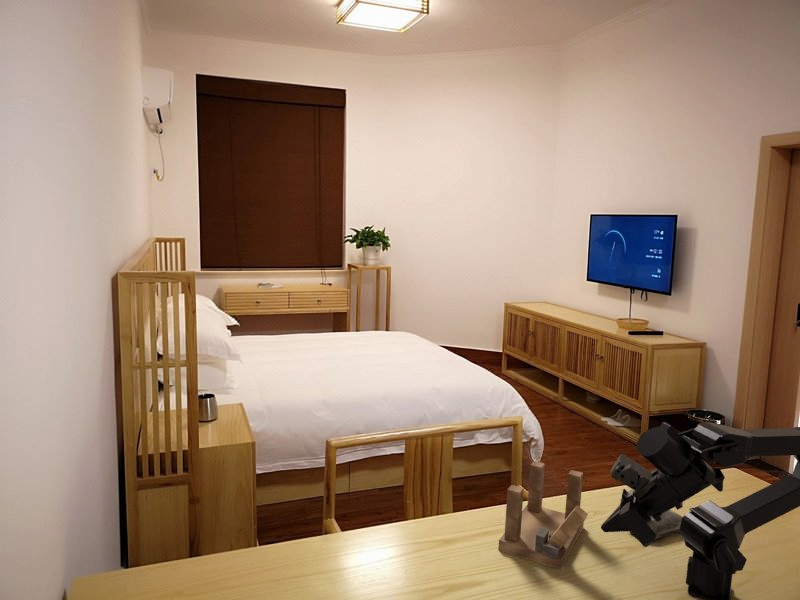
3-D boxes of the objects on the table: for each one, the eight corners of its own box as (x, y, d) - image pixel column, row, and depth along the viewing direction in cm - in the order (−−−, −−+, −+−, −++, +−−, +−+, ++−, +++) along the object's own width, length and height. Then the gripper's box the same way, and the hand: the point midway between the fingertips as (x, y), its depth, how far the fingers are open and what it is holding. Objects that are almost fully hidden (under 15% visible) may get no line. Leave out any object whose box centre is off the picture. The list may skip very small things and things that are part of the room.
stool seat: (583, 527, 124) (587, 472, 123) (559, 571, 108) (564, 508, 107) (527, 512, 130) (531, 459, 129) (497, 551, 114) (500, 491, 113)
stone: (637, 529, 119) (612, 507, 129) (639, 549, 119) (613, 526, 129) (700, 517, 121) (670, 496, 131) (700, 537, 121) (671, 515, 131)
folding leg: (558, 549, 112) (588, 513, 109) (553, 556, 110) (584, 520, 106) (547, 540, 113) (577, 504, 110) (543, 547, 111) (573, 510, 107)
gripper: (645, 429, 111) (579, 473, 117) (639, 464, 94) (563, 514, 100) (687, 478, 109) (618, 520, 115) (689, 523, 92) (608, 570, 98)
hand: (602, 529), depth 107 cm, fingers closed
